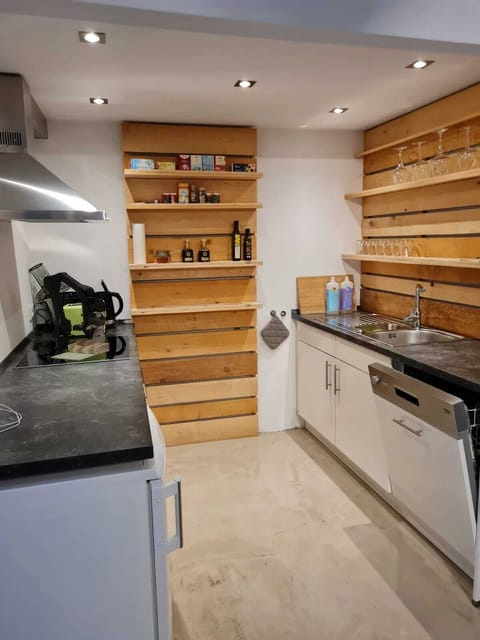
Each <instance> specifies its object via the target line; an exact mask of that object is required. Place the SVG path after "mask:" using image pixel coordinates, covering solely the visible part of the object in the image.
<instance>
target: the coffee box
mask: <svg viewBox="0 0 480 640" xmlns="http://www.w3.org/2000/svg"><path fill="white" fill-rule="evenodd" d="M95 313H96V316H97V317H101V316H104V314H103V312H95ZM105 335H106V334H105V325H103V326H100V327H98V328H97V329H96V330H95V332H94V335H93V339H94V342H99V343H105V342H106V336H105Z"/></svg>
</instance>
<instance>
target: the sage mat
mask: <svg viewBox="0 0 480 640" xmlns="http://www.w3.org/2000/svg"><path fill="white" fill-rule="evenodd" d="M95 356H96V355H94V354H82V353H70V352H69V351H68V352H63V353H60V354H57V355H54V356H51V357H50V358H51V359H61V360H69V361H82V360H84V359H88V358H91V357H95Z"/></svg>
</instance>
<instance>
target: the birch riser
mask: <svg viewBox="0 0 480 640" xmlns="http://www.w3.org/2000/svg"><path fill="white" fill-rule="evenodd" d="M67 349H68V352H70V353H82V354H94V355H95V356H97V355H100V354H103V353H106V352H109V351H110V343H109V342H95V344H94V345H90V346H78V345H77V342H74V343H69V345H68V348H67Z"/></svg>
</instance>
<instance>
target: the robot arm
mask: <svg viewBox="0 0 480 640" xmlns="http://www.w3.org/2000/svg"><path fill="white" fill-rule="evenodd" d="M42 281H43V285H44V289H46V290H47V292H49V294H50V295H49V296H50V300H51V305H52V307H53V312H54V317H55V321H54V324H53V325H54V329H53V331H52V332H51V334H50V335H51V338H53V339H54V342H55V347H53V349H55V350H56V349H57V350H65V349H68V345H70V342H69V337H70V336H71V335H72V334H71V333H72V331H75V332H82V333H83V334H84V335H85V337H86V339H93V335H94V332H95V330H96V329H97V328H98V327H100V326H103V325H104V326H105V325H106V315H103V316H101V317H97V316H96V312H101V313H105V312H106V310H107V304H106V302H105V301H104V299H103V298H99V296H98V295H97V293H96V292H95V289H94V287H92V286H89V285H87V284H83V283H81V282H79V281H78V280H77V279H75V278H74V277H72V276H71V275H69V274H68V272H65V271H62V272H61V271H60V272H57V273H55V274H51V275H45V276H44V277H43V280H42ZM62 283H64V284H65V285H66V286H68V287H69V288H70V289H72V290H74V291H75V294H76V295H77V296H78V297H79V298H80V300H79V301H78V302H77V303H78V304H81V312H82V313H80V317H82V321H81V323H76V324H73V325H72V320H71V319H69V318H67V316H66V313H65V310H64V305H63V301H62V297H61V293H60V292H61V291H60V289H61V287H62Z"/></svg>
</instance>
